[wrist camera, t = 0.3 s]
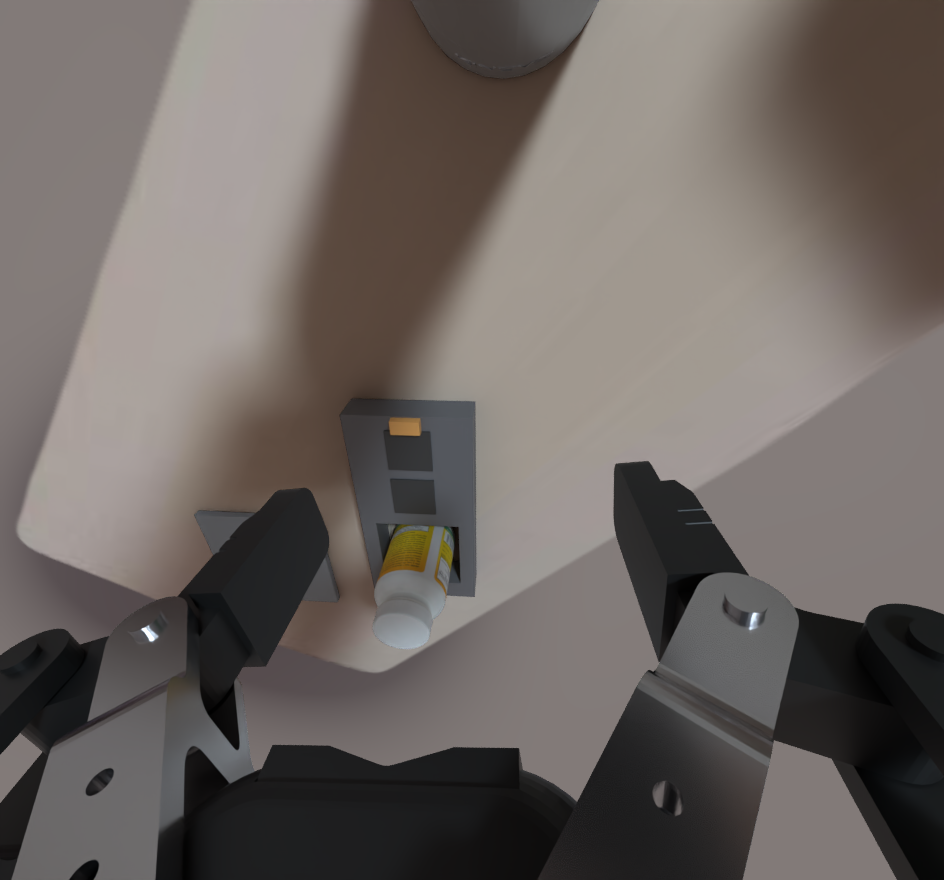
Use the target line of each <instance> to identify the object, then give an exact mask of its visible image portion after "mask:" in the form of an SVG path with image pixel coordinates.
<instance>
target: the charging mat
mask: <svg viewBox="0 0 944 880" xmlns="http://www.w3.org/2000/svg"><path fill="white" fill-rule="evenodd" d="M254 514H255V513H242V512H219V511H198V512H197V513H196V514H195V515H194V516H195V518H196V520H197V522H198V524H199V526H200V528H201V530H202V533H203V535H204V537H205V539H206V541H207V543H208V545H209V547H210V549H211V551H212V553H213V555H214V554H215V553H216V552H219V549H220V548H221V546H222V545H223V544H224V543H225V542H226V541H227V540H230V536H231V535H232V534H233V533H234V532H235V530H236V529H237V528H238V527H239V526H240V525H241V524H242V523H243V522H244V521H245V520H247V519H248V518H250V517H251V516H252V515H254ZM339 598H340V597H339V593H338V589H337V586H336V582H335V578H334V575H333V571H332V567H331V564H330V560H329V556H328V553H327V555H326V557H325V558H324V560H323V562H322V564H321V566H320V568H319V569H318V571H317V573H316V575H315V577H314V579H313V580H312V582H311V584H310V586H309V588H308V590H307V591H306V593H305V595H304V597H303V599H302V600H305V601H322V602H338V600H339Z"/></svg>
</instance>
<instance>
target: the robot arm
mask: <svg viewBox="0 0 944 880" xmlns="http://www.w3.org/2000/svg"><path fill="white" fill-rule="evenodd" d="M411 1H412V3H413V5H414V7H415V9H416V11H417V13H418V15H419V17H420V18H421V20H422V22H423V24H424V25H425V27H426V29H427V31H428V32H429V34H430V36H431V38H432V39H433V40H434V41H435V42H436V43H437V45H438V46H439V47H440V48H441V49H442V50H443V51H444V53H445V54H446V55H447V56H448V57H450V58H451V59H452V60H454V61H455V62H456V63H458V64H459V65H460V66H462V67H463V68H465V69H467V70H469V71H472V72H474V73H477V74H479V75H482V76H484V77H493V78H502V79H505V78H511V77H517V76H523V75H526V74H528V73H530V72H533V71H535V70H537V69H539V68H542V67H544V66H545V65H547V64H548V63H549V62H550V61H552V60H553V59H554V58H556V57H557V56H558V55H560V54H561V53H562V52H563V51H564V50H565V49H566V48H567V47H568V46H569V45H570V43H571V42H572V41H573V40H574V39H575V38H576V37H577V35H578V34H579V33H580V32H581V30H582V29H583V27H584V26H585V24H586V22H587V21H588V19H589V17H590V16H591V14H592V12H593V11H594V9H595V8H596V5H597V3H598V1H599V0H411ZM614 526H615V532H616V536H617V540H618V543H619V546H620V549H621V552H622V555H623V558H624V561H625V564H626V567H627V570H628V572H629V575H630V578H631V582H632V584H633V587H634V590H635V593H636V596H637V599H638V602H639V605H640V608H641V611H642V614H643V616H644V620H645V623H646V626H647V629H648V631H649V635H650V637H651V641H652V644H653V647H654V650H655V652H656V655H657V658H658V661H659V662H660V663H659V665H658V667H657V668H656V670H655V671H654V672H652V671H651V670H648V671H647V672H646V673H645V674H644V675H643V677H642V678H641V680H640V682H639V683H638V685H637V687H636V689H635V691H634V693H633V695H632V696H631V699H630V701H629V702H628V704H627V706H626V708H625V711H624V712H623V714H622V716H621V718H620V720H619V722H618V724H617V726H616V728H615V730H614V732H613V734H612V736H611V737H610V739H609V741H608V743H607V745H606V747H605V749H604V751H603V753H602V755H601V757H600V759H599V761H598V763H597V765H596V767H595V768H594V770H593V772H592V774H591V776H590V778H589V780H588V782H587V784H586V786H585V788H584V790H583V792H582V794H581V796H580V798H579V800H578V802H576V801H575V800H574V799H573V798H572V797H571V796H570V795H568V794H567V793H566V792H564V791H563V790H561V789H560V788H559V787H557V786H556V785H554V784H553V783H551V782H549V781H547V780H545V779H543V778H541V777H539V776H537V775H535V774H532V773H529V772H527V771H524V770H523V769H522V763H521V757H520V752H519V748H462V747H461V748H460V747H454V748H450V749H447V750H443V751H440V752H437V753H433V754H430V755H426V756H423V757H419V758H416V759H412V760H409V761H405V762H402V763H398V764H395V765H390V766H382V765H379V764H376V763H374V762H371V761H368V760H365V759H363V758H360V757H358V756H355V755H352V754H349V753H347V752H344V751H341V750H339V749H336V748H334V747H331V746H312V745H272V748H271V750H270V752H269V754H268V756H267V759H266V761H265V763H264V766H263V768H262V769H260V770H257V771H254V769H253V765H252V762H251V758H250V749H249V741H248V733H247V724H246V715H245V706H244V698H243V690H242V684H241V682H240V681H239V679H238V678H237V676H238V674H239V673H240V671H241V669H242V668H243V667H261V666H266V665H267V663H268V661H269V659H270V657H271V655H272V654H273V652H274V650H275V648H276V647H277V645H278V643H279V641H280V639H281V637H282V636H283V634H284V632H285V630H286V628H287V626H288V625H289V623H290V621H291V619H292V617H293V615H294V614H295V612H296V610H297V608H298V606H299V604H300V602H301V601H302V599H303V597H304V595H305V593H306V591H307V590H308V588H309V586H310V584H311V582H312V580H313V579H314V577H315V575H316V573H317V571H318V569H319V568H320V566H321V564H322V562H323V560H324V558H325V557H326V555H327V552H328V548H329V535H328V531H327V529H326V526H325V524H324V521H323V519H322V516H321V514H320V511H319V509H318V506H317V504H316V501H315V499H314V496H313V494H312V492H311V491H310V490H309V489H307V488H299V489H287V490H278V491H277V492H275V493H274V494H273V496H272V497H271V498H270V499H269V500H268V501H267V503H266V504H265V505H264V506H263V507H262V508H261V510H259V511H258V512H257V513H255V514H254V515H252V516H251V517H250V518H248V519H247V520H245V521H244V522H243V523H242V524H241V525H240V526H239V527H238V528H237V529H236V530H235V532H234V533H233V534H232V535H231V536H230V540H227V541H226V542H225V543H224V544H223V545H222V546H221V548H220V549H219V552H216V553H215V554H214V555H213V557H212V558H211V559H210V560H209V561H208V562H207V563H206V565H205V566H204V567H203V568H202V569H201V570H200V571H199V573H198V574H197V575H196V576H195V577H194V578H193V579H192V580H191V582H190V583H189V584H188V585H187V586H186V587H185V588H184V590H183V591H182V592H181V593H180V594H179V595H178V596H177V597H175V596H174V597H166V598H162V599H159V600H156V601H154V602H151V603H149V604H147V605H145V606H143V607H142V608H140V609H138V610H137V611H135V612H134V613H132V614H131V615H130V616H128V617H127V618H126V619H124V620H123V621H122V622H121V623H120V624H119V625H118V626H117V627H116V628H115V629H114V631H113V632H112V633H111V635H110V636H108V637H104V638H101V639H97V640H94V641H91V642H87V643H84V644H81V645H80V644H79V643H78V642H77V641H76V640H75V639H74V638H73V637H72V636H71V635H70V633H69V632H68V631H66V630H64V629H53V630H48V631H44V632H42V633H39V634H36V635H35V636H32V637H30V638H28V639H26V640H24V641H22V642H20V643H18V644H17V645H15V646H13V647H12V648H10V649H9V650H7V651H6V652H4V653H3V654H2V655H0V754H1V753H2V752H3V751H4V750H5V749H6V748H7V747H8V746H9V745H10V743H11V742H12V741H13V740H14V739H15V738H16V737H17V736H18V735H19V733H21V734H22V735H23V736H25V737H26V738H27V739H28V740H29V741H31V742H32V743H33V744H34V745H35V746H37V747H38V748H39V749H40V750H41V751H43V752H42V754H41V755H40V756H39V757H38V758H37V760H36V761H35V762H34V763H33V765H32V766H31V767H30V768H29V769H28V770H27V772H26V773H25V774H24V775H23V776H22V778H21V779H20V780H19V781H18V782H17V784H16V785H15V786H14V787H13V788H12V790H11V791H10V792H9V793H8V795H7V796H6V797H5V798H4V799H3V801H2V802H1V803H0V880H743V876H744V871H745V867H746V862H747V858H748V854H749V850H750V845H751V841H752V837H753V832H754V828H755V824H756V820H757V815H758V811H759V806H760V802H761V798H762V793H763V789H764V785H765V780H766V776H767V772H768V768H769V763H770V759H771V754H772V749H773V741H774V740H775V741H779V742H782V743H785V744H788V745H791V746H795V747H797V748H800V749H803V750H807V751H810V752H813V753H816V754H819V755H822V756H825V757H828V758H831V759H832V760H833V762H834V764H835V766H836V768H837V769H838V771H839V773H840V775H841V777H842V779H843V781H844V782H845V784H846V786H847V788H848V790H849V792H850V794H851V795H852V797H853V799H854V801H855V803H856V805H857V806H858V808H859V810H860V812H861V814H862V816H863V818H864V819H865V821H866V823H867V825H868V827H869V829H870V831H871V832H872V834H873V836H874V838H875V840H876V842H877V844H878V845H879V847H880V849H881V851H882V853H883V855H884V856H885V858H886V860H887V862H888V864H889V866H890V868H891V869H892V871H893V873H894V875H895V877H896V879H897V880H944V614H941V613H938V612H936V611H933V610H929V609H926V608H922V607H918V606H912V605H907V604H886V605H881V606H878V607H876V608H874V609H873V610H872V611H870V613H869V614H868V616H867V618H866V620H865V623H860V622H855V621H850V620H845V619H840V618H835V617H830V616H826V615H820V614H816V613H812V612H807V611H803V610H801V609H798V608H795V607H793V605H792V604H791V602H790V601H789V600H788V599H787V598H786V597H785V596H784V595H783V594H782V593H781V592H779V591H778V590H777V589H775V588H774V587H772V586H771V585H769V584H767V583H765V582H764V581H761V580H759V579H757V578H754V577H751V576H749V575H748V573H747V572H746V570H745V569H744V568H743V566H742V565H741V563H740V562H739V560H738V559H737V557H736V556H735V554H734V553H733V551H732V550H731V548H730V547H729V545H728V544H727V542H726V541H725V539H724V538H723V536H722V535H721V533H720V532H719V530H718V529H717V527H716V526H715V524H712V520H711V519H710V517H709V516H708V514H707V513H706V511H704V510H703V507H702V505H701V504H700V502H699V501H698V499H697V498H696V496H695V495H694V493H693V492H692V491H690V490H689V489H687V488H686V487H684V486H683V485H681V484H680V483H678V482H677V481H675V480H667V481H660V479H659V477H658V476H657V474H656V472H655V470H654V469H653V467H652V465H651V464H650V462H649V461H642V462H630V463H618V464H616V465H615V469H614Z"/></svg>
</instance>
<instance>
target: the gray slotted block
mask: <svg viewBox="0 0 944 880" xmlns="http://www.w3.org/2000/svg"><path fill="white" fill-rule="evenodd" d="M340 420H341V424H342V429H343V434H344V439H345V444H346V449H347V454H348V459H349V464H350V469H351V474H352V479H353V484H354V489H355V494H356V499H357V504H358V509H359V514H360V519H361V524H362V529H363V534H364V539H365V543H366V548H367V553H368V558H369V563H370V568H371V573H372V578H373V583H374V588H375V586H376V583H377V580H378V577H379V574H380V572H381V569H382V566H383V563H384V560H385V557H386V554H387V551H388V548H389V545H390V537H389V531H388V524H404V525H427V526H449V527H459V551H460V561H452V564H451V570H450V577H449V583H448V589H447V595H449V596H467V597H475V585H476V432H475V402H469V401H427V400H384V399H351V400H350V402H349V403H348V404H347V406H346V407H345V408H344V410H343V411H342V412H341V414H340Z"/></svg>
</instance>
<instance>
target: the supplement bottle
mask: <svg viewBox="0 0 944 880" xmlns="http://www.w3.org/2000/svg"><path fill="white" fill-rule="evenodd" d="M454 546H455V534H454V531H453V529H452V527H449V526H427V525H404V524H397V526H396V528H395V531H394V534H393V537H392V539H391V542H390V545H389V548H388V551H387V554H386V557H385V560H384V563H383V566H382V569H381V572H380V574H379V577H378V580H377V583H376V586H375V591H374V597H375V602H376V604H377V606H378V609H377V611H376V615H375V618H374V622H373V632H374V634H375V636H376V637H377V638H378V639H379V640H380V641H381V642H383V643H384V644H386V645H388V646H391V647H394V648H399V649H413V648H417V647H420V646H422V645H423V644H425V643H426V642H427V641H428V639H429V636H430V632H431V627H432V623H433V619H435V618H436V617H437V616H438V615H439V614H440V613H441V611H442V610H443V608H444V605H445V601H446V595H447V589H448V583H449V577H450V570H451V564H452V558H453V552H454Z"/></svg>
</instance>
